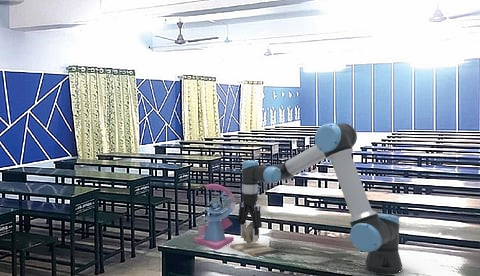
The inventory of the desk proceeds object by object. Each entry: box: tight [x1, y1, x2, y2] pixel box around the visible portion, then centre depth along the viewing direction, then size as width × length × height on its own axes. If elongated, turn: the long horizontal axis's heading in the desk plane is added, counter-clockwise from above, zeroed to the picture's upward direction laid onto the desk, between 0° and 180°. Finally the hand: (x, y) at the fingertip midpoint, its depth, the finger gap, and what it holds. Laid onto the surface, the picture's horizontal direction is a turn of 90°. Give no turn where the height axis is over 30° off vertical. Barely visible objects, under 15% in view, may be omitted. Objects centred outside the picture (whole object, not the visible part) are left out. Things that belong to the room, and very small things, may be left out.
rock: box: [242, 221, 260, 243], centre depth 243 cm, size 12×7×10 cm, turn 151°
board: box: [229, 242, 279, 258], centre depth 242 cm, size 20×14×1 cm
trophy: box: [193, 183, 237, 251], centre depth 248 cm, size 20×17×30 cm
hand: (249, 239), depth 243 cm, fingers closed on rock, 9 cm apart
